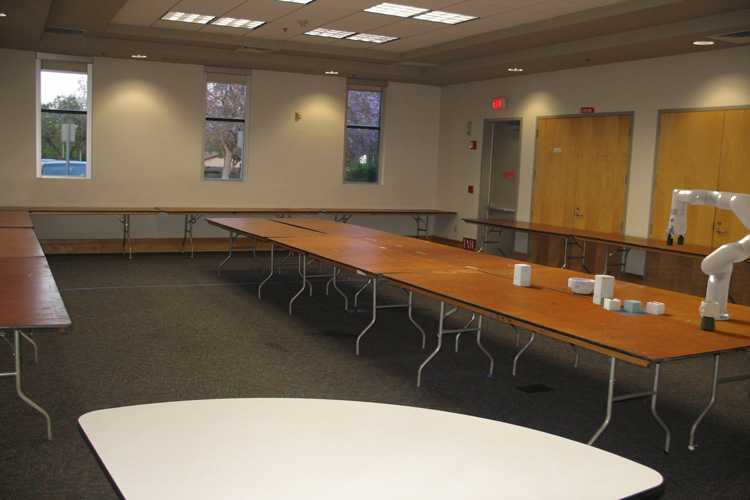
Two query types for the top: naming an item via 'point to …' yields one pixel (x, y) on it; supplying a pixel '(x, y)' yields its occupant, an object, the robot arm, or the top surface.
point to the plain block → (632, 306)
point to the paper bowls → (581, 285)
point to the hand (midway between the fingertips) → (674, 245)
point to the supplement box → (522, 275)
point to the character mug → (708, 314)
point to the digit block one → (655, 308)
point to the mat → (627, 313)
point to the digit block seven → (612, 304)
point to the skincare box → (603, 288)
